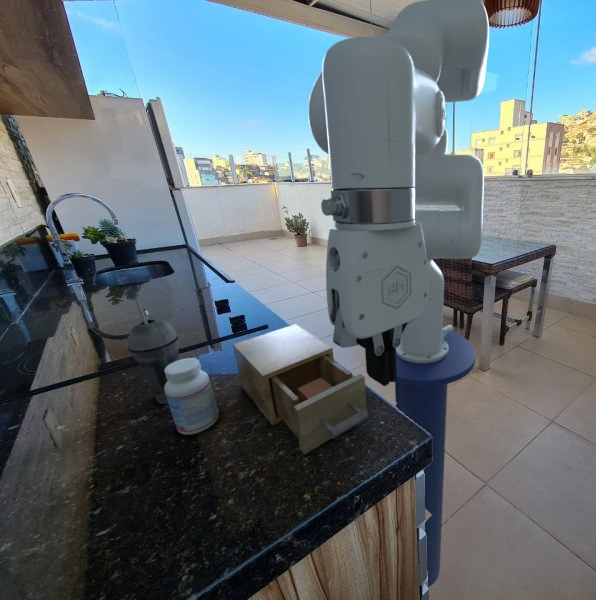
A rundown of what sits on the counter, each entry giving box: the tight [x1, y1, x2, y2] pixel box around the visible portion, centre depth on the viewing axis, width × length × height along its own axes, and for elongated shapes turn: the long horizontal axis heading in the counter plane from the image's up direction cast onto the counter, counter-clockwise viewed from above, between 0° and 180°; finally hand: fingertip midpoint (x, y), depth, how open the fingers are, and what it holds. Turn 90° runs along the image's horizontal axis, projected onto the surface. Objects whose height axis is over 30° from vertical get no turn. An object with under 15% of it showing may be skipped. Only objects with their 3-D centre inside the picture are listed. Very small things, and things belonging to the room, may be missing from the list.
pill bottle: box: [164, 357, 220, 436], centre depth 52 cm, size 6×6×11 cm
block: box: [297, 378, 332, 403], centre depth 52 cm, size 4×4×4 cm
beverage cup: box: [127, 298, 181, 405], centre depth 57 cm, size 7×7×20 cm
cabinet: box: [232, 323, 335, 426], centre depth 60 cm, size 15×13×10 cm
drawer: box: [268, 355, 369, 455], centre depth 51 cm, size 18×11×8 cm, turn 43°
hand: (381, 378), depth 36 cm, fingers closed
